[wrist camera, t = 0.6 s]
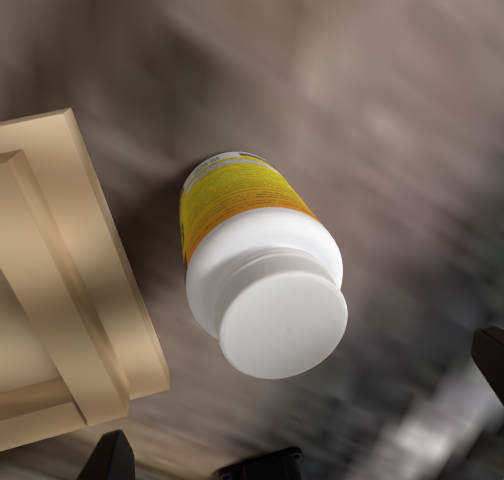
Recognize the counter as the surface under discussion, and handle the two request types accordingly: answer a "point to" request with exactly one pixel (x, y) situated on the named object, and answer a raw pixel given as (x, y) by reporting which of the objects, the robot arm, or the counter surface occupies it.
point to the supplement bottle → (259, 267)
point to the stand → (65, 291)
